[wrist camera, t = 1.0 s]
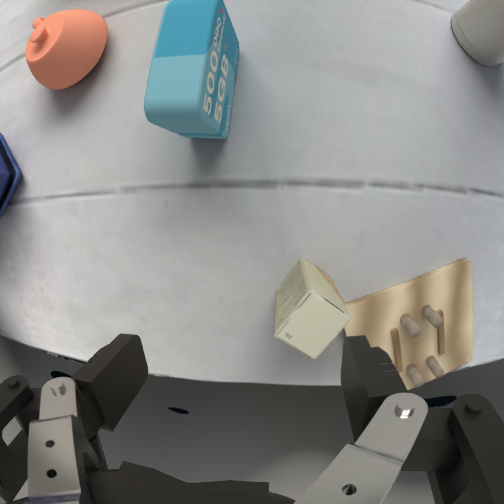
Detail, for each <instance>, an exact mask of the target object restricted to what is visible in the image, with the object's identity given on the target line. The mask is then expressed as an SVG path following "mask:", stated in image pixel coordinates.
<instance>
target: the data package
mask: <svg viewBox="0 0 504 504" xmlns="http://www.w3.org/2000/svg"><path fill="white" fill-rule="evenodd" d="M238 58H239V42H238V39H237V36H236V34H235V31H234V28H233V25H232V23H231V20H230V17H229V15H228V12H227V10H226V7H225V4H224V2H223V0H173V1H170V2H168V3H167V4H166V6H165V9H164V12H163V16H162V19H161V23H160V27H159V31H158V35H157V39H156V43H155V48H154V52H153V57H152V61H151V66H150V71H149V77H148V82H147V88H146V93H145V100H144V111H145V115H146V118H147V119H148V121H149V122H150V123H152V124H155V125H157V126H160V127H162V128H165V129H167V130H170V131H172V132H174V133H177V134H179V135H182V136H184V137H186V138H210V139H226V138H227V136H228V133H229V128H230V120H231V112H232V104H233V96H234V88H235V80H236V73H237V66H238Z"/></svg>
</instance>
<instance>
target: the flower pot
mask: <svg viewBox="0 0 504 504" xmlns="http://www.w3.org/2000/svg"><path fill="white" fill-rule="evenodd" d="M21 176H22V172H21V170H20V168H19V166H18V164H17V162H16V161H15V159H14V157H13V155H12V153H11V151H10V149H9V147H8V145H7V143H6V141H5V139H4V137H3V135H2V134H1V133H0V219H1V217H2V215H3V213H4V211H5V209H6V207H7V204H8V202H9V200H10V198H11V196H12V194H13V192H14V190H15V188H16V186H17V184H18V182H19V180H20V178H21Z"/></svg>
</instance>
